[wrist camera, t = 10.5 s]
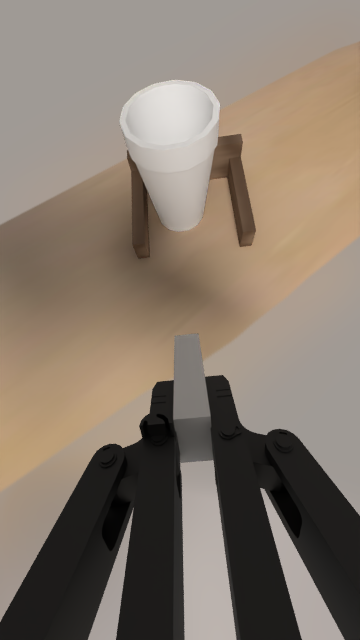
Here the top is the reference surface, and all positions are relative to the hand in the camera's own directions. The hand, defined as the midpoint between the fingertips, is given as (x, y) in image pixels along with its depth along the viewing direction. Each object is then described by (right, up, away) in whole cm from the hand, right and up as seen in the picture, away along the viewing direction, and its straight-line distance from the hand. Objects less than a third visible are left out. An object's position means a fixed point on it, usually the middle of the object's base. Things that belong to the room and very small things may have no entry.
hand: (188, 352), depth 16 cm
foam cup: (0, +17, +20) cm, 26 cm away
